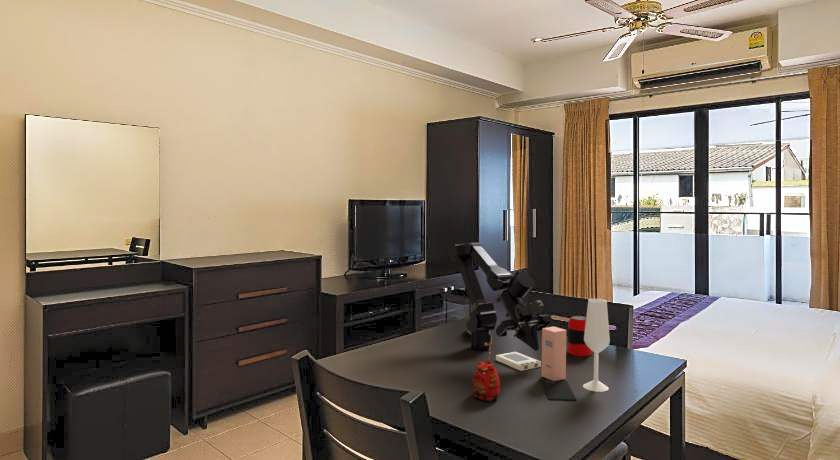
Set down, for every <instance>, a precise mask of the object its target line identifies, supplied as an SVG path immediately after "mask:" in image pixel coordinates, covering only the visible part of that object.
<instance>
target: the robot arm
mask: <svg viewBox="0 0 840 460" xmlns="http://www.w3.org/2000/svg"><path fill="white" fill-rule="evenodd" d="M448 256H449V258H450V259H451V262H452V264H454V266H455V267H456V268H458V269H459V271H460V274H461V278H462V281H463V283H464V287H465V289H466V292H467V295H468V298H469V300H470V304H471V307H470V312H469V315H470V318H469V319H468V321H467V322H466V324H465V328H466V327H467V329H466V331H467V330H469V331H471V335H470V347H469V349H470V350H477V351H478V350H481V351H489V346H488V345H487V346H485V342H487V344H489V342H490V341H491V339H492V340H493V337H492V336H493V334H492V333H491V331H495V333H496V336H497V338H503V337H504V338H505V337H506V336H507V334H508V332H509V331H514V335H513V337H514V338H517V339H518V340H520V341H521V342H523V343H524V344H525V345H527V347H529V348H531V349H532V350H533V351H535V352H536V351H539V349H540V346H539V339H538V332H542V328H547V327H550V325H551V324H552V323H553V322H554V320H553V318H552V317H551V316H552V315H550V314H541V313H542V311H543V310H545V305H544V303H543V302H542V300H541V299H539V300H538V299H537V300H534V301H532V302H530V303H525V302H523V301H522V298H524V297H525V296H527V294H528V293H529V292H530V291H531V290H532V289H533V287H534V286H535V280H534V279H533V277H531V276H530V275H529V274H527V273H525V272H524V271H523V269H522V270H516V272H515V274H514V275H513V274H512V273H511V272H510V271H509V270H507V269H506V268H503V267H501V266H500V265H498V264H497V263H496V262H495V260H494V259H493V258H492V257H491V256H490V255H489V254H488V252H487V251H486V250H485V249H484V248H483V245H482V243H480V242H476V241H475V242H468V243H455V244H454V243H453V244H451V246H450V247H449V249H448ZM473 262H475V263H476V264H477V265H478V267H479V269H481V270H482V271H483V273H484V274H485V275H486V282H487V284H488V286H489V287H490V289H491V291H493V292H499V291H501V293H498V294H497V297H496V303H502V305H503V307H504V309H505V311H506V313H505V316H506V318H509V319H504V320H503V319H502V321H501V322H500V323H499V324H498V326H497V327H496V324H497V319H498V316H497V314H498V313H497V311H496V309H495V307H494V303H493V302H488V301H487V300H486V299H485V296H484V294H483V290H482V287H481V285H480V282H479V278H478V276H477V274H476V271H475V268H474V264H473ZM537 314H540V315H538V316H537V317H536V315H537ZM534 318H535V319H534ZM491 343H492V345H493V341H492V342H491ZM492 345H491V347H492Z"/></svg>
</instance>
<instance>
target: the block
mask: <svg viewBox="0 0 840 460" xmlns="http://www.w3.org/2000/svg"><path fill="white" fill-rule="evenodd" d="M567 332H568V329H564V328H560V327H557V326H548V327H547V328H542V331H541V334H542V335H541V377H542V378H545V379H546V380H553V381H557V380H566V377H567V376H566V375H567V373H566V372H567V370H566V369H567Z"/></svg>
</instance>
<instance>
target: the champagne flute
mask: <svg viewBox="0 0 840 460" xmlns="http://www.w3.org/2000/svg"><path fill="white" fill-rule="evenodd" d="M587 300H588V301H587V306H586V307H587V308H586V316H585V317H586V324H585V333H584V342H585V344H586V345H587V346H588V347H589V348H590V349H591V352H593V356H594V357H593V380H591V381H589V382H586V383H584V384H583V385H582V387H583V388H584V389H586V390H587V391H591V392H597V393H600V392H601V393H602V392H606V391H609V387H608V386H607V385H606V384H604V383H602V382H601V381H600V380H599V360H600V359H599V355H600V353H601V352H602V351H604V350H605V349H607V347H609V345H610V344H611V343H610V342H611V339H610V326H609V324H610V323H609V314H608V311H609V310H608V301H607V300H606V299H602V298H589V299H587Z"/></svg>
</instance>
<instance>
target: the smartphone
mask: <svg viewBox="0 0 840 460" xmlns="http://www.w3.org/2000/svg"><path fill="white" fill-rule="evenodd" d="M540 382H541V384H542V387H543V389H544V392H545V395H546V398H547V400H548V401H555V402H556V401H565V402H577V397H576V396H575V394H574V392H573V390H572V389H571V386H570V385H569V383H568V380H566V379H562V380H557V381H553V380H550V379H541V381H540Z"/></svg>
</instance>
